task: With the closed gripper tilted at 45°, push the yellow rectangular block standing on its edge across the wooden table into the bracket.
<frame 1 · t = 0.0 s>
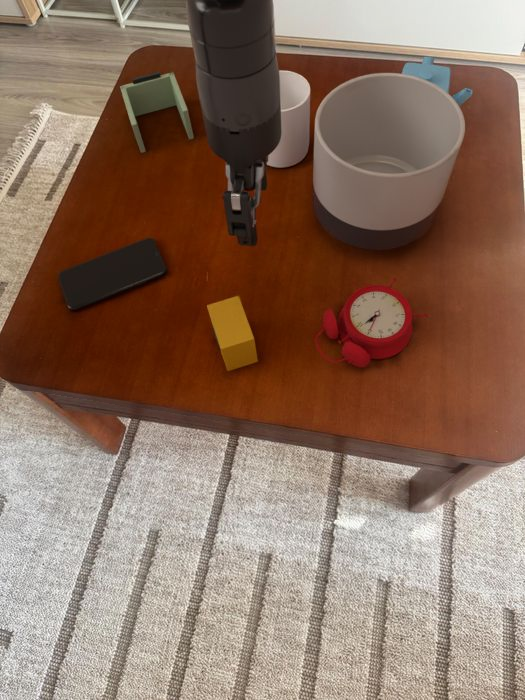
hand: (253, 215, 64), 17 cm above the table, tool pointing down, fingers open, 8 cm apart
teapot: (418, 128, 92), on the table
yellow rectangular block: (235, 345, 75), on the table
planter: (372, 213, 84), on the table
bracket: (161, 126, 96), on the table
smartphone: (113, 275, 82), on the table
alarm clock: (364, 333, 75), on the table
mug: (283, 145, 92), on the table
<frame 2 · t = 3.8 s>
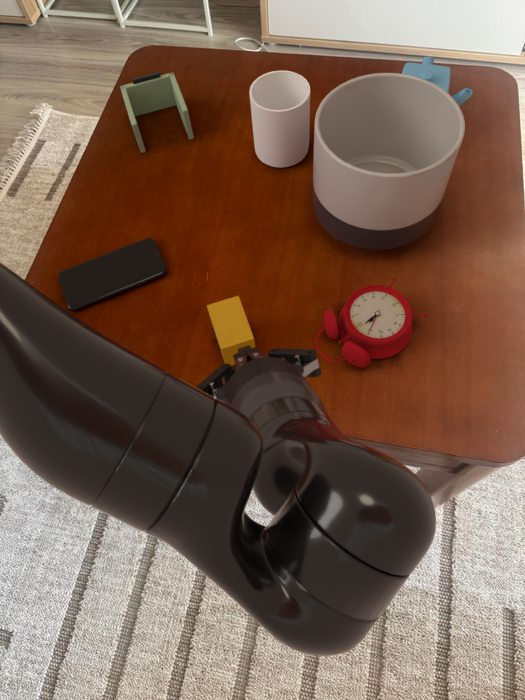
hand: (245, 354, 59), 14 cm above the table, tool tilted 45°, fingers closed
nothing on the table moved.
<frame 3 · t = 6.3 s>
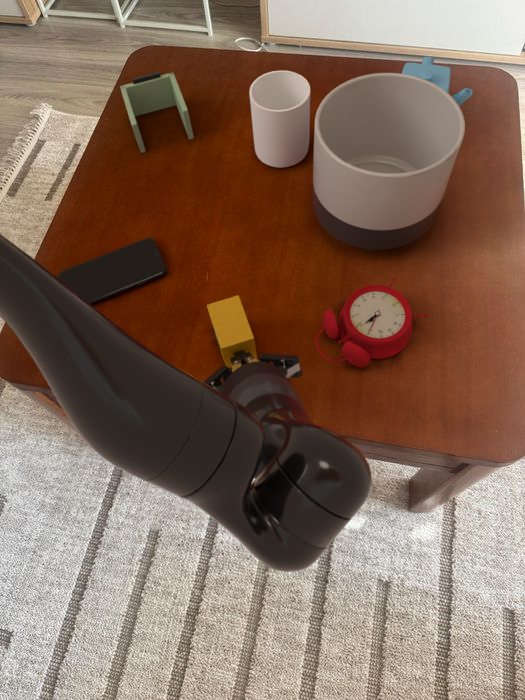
hand: (240, 358, 70), 4 cm above the table, tool tilted 45°, fingers closed
yellow rectangular block: (235, 345, 75), on the table, touching gripper
everything else where it was.
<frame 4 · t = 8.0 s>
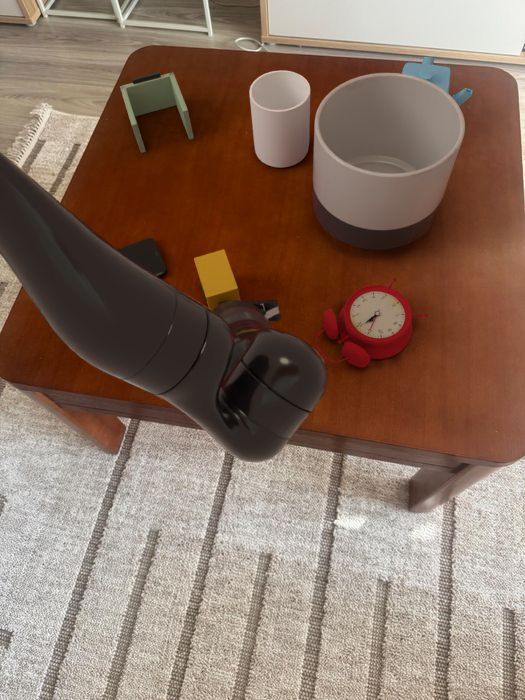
hand: (224, 308, 73), 4 cm above the table, tool tilted 45°, fingers closed
yellow rectangular block: (222, 299, 79), on the table, touching gripper
everything else where it was.
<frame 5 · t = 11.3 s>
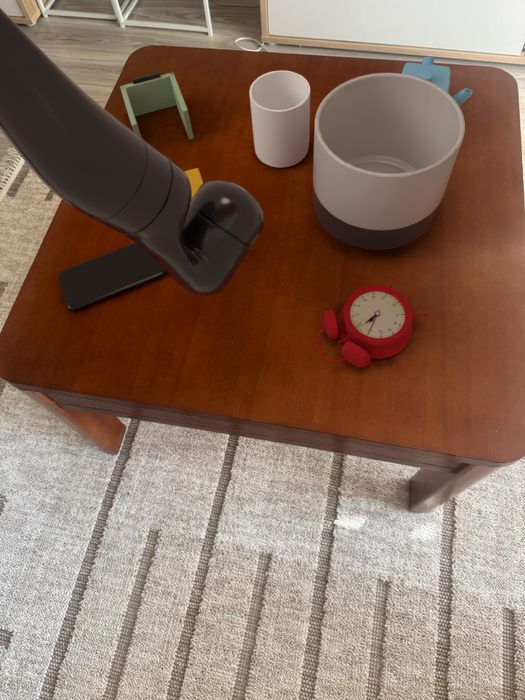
hand: (196, 221, 81), 4 cm above the table, tool tilted 45°, fingers closed
yellow rectangular block: (197, 218, 86), on the table, touching gripper
everything else where it was.
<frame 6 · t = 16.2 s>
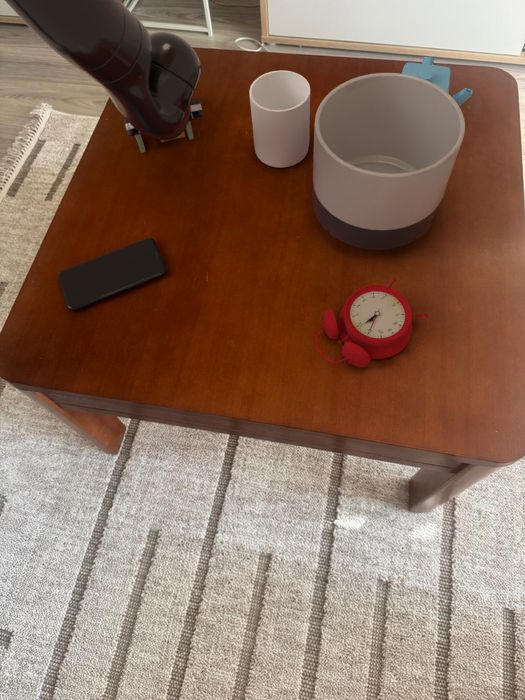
hand: (164, 124, 91), 4 cm above the table, tool tilted 45°, fingers closed
yellow rectangular block: (170, 126, 96), on the table, touching gripper
everything else where it was.
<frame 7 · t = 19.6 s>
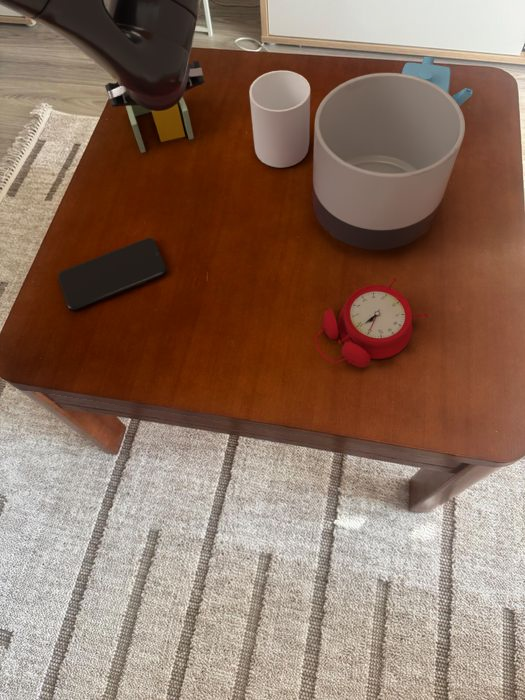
hand: (156, 95, 75), 17 cm above the table, tool tilted 45°, fingers closed
yellow rectangular block: (169, 126, 96), on the table
everything else where it was.
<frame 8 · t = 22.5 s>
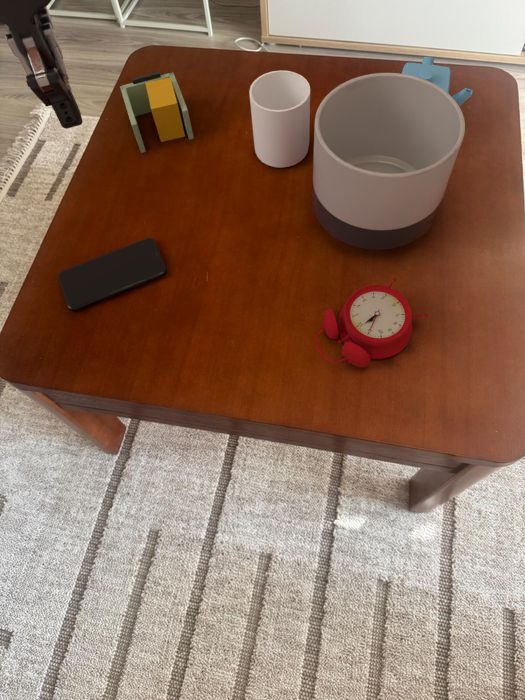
hand: (72, 122, 55), 29 cm above the table, tool pointing down, fingers closed
nothing on the table moved.
at the end: yellow rectangular block 1.6 cm from the bracket (horizontally); yellow rectangular block tilted 0°; yellow rectangular block moved 47.2 cm from its start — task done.
